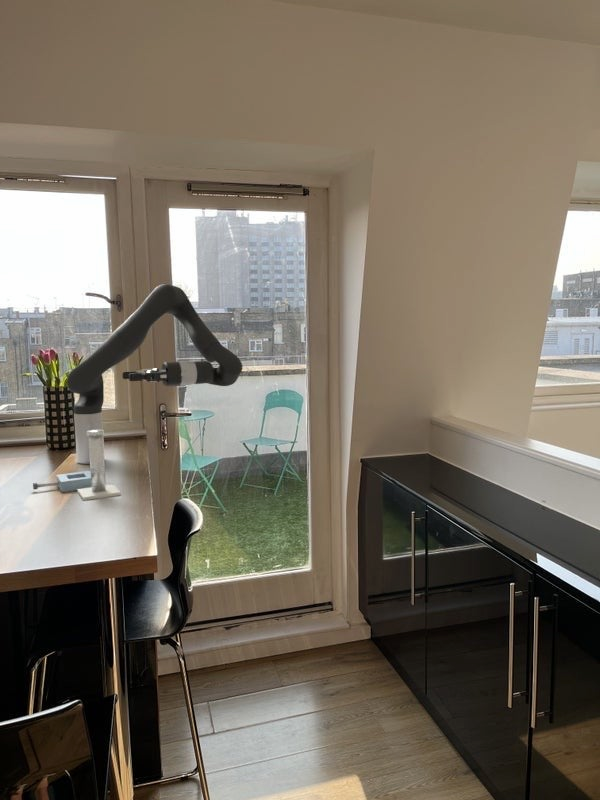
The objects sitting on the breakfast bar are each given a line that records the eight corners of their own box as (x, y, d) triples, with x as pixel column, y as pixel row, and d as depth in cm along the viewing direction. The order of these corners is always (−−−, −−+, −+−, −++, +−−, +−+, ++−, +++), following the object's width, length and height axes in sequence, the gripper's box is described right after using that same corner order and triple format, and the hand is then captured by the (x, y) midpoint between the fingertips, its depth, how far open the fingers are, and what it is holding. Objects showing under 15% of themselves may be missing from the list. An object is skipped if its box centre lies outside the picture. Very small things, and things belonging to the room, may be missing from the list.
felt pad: (77, 491, 177) (77, 489, 177) (113, 487, 182) (112, 484, 182) (83, 500, 168) (83, 497, 168) (120, 494, 173) (120, 492, 173)
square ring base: (32, 487, 182) (31, 478, 182) (91, 480, 190) (90, 470, 190) (35, 495, 174) (34, 485, 173) (97, 487, 182) (96, 477, 181)
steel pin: (88, 489, 176) (85, 430, 174) (105, 487, 178) (102, 429, 176) (91, 493, 172) (88, 433, 170) (108, 491, 174) (105, 431, 172)
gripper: (171, 360, 197) (119, 362, 189) (186, 362, 184) (131, 365, 177) (172, 383, 198) (121, 387, 190) (187, 387, 185) (132, 391, 177)
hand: (125, 376), depth 183 cm, fingers open, 8 cm apart
